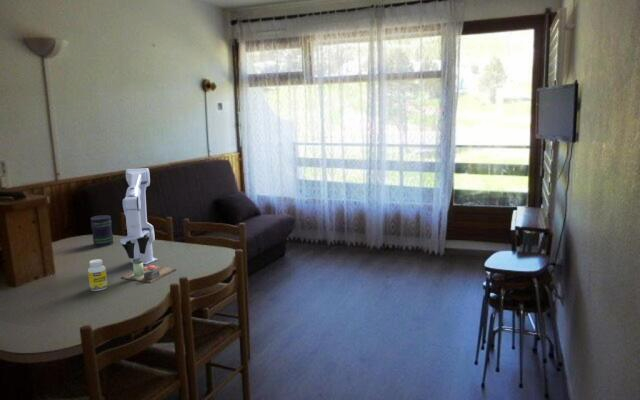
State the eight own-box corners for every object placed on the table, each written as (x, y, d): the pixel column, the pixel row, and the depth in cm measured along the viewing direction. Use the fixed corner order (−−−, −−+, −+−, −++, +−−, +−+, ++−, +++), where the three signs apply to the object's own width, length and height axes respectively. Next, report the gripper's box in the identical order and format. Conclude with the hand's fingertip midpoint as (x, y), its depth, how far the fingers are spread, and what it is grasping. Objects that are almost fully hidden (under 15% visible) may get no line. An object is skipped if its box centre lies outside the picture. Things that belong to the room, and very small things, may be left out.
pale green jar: (139, 277, 199) (137, 261, 198) (132, 276, 201) (130, 260, 199) (146, 274, 203) (144, 258, 201) (138, 273, 204) (137, 257, 203)
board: (121, 278, 200) (120, 271, 200) (148, 266, 215) (147, 259, 214) (151, 282, 194) (150, 275, 194) (176, 270, 209) (175, 263, 208)
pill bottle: (90, 292, 185) (86, 264, 183) (89, 287, 191) (86, 260, 189) (108, 289, 188) (105, 262, 186) (107, 284, 194) (104, 257, 192)
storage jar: (108, 246, 246) (105, 219, 243) (90, 247, 246) (86, 219, 243) (116, 241, 256) (113, 214, 253) (99, 241, 256) (95, 215, 253)
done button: (145, 270, 198) (145, 267, 197) (150, 268, 200) (150, 264, 200) (151, 271, 196) (151, 268, 196) (156, 269, 199) (156, 265, 199)
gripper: (128, 230, 189) (131, 262, 192) (153, 221, 202) (156, 251, 205) (115, 228, 192) (118, 260, 194) (140, 220, 205) (143, 250, 208)
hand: (137, 255), depth 200 cm, fingers open, 6 cm apart
